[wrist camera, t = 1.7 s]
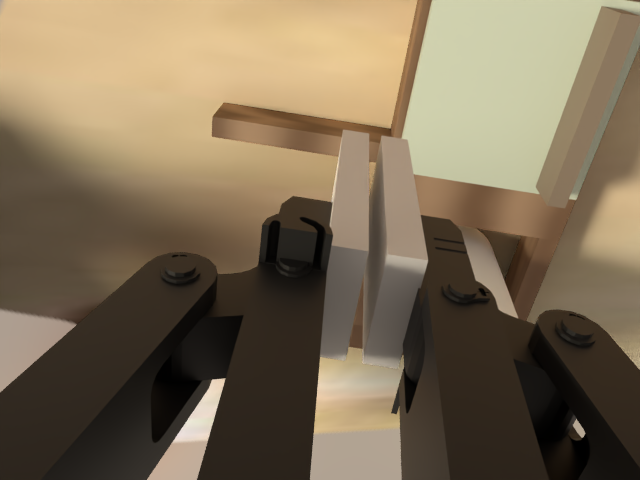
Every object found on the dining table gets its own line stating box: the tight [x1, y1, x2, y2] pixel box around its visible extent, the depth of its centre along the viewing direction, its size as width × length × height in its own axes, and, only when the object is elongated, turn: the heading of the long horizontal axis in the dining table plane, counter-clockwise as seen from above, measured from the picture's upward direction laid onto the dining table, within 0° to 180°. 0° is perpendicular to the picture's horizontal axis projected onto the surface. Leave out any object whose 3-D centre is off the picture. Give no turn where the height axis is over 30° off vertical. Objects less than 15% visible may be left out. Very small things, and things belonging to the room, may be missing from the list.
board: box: [212, 0, 640, 355], centre depth 43 cm, size 27×32×4 cm
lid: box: [401, 0, 640, 208], centre depth 35 cm, size 13×13×4 cm
